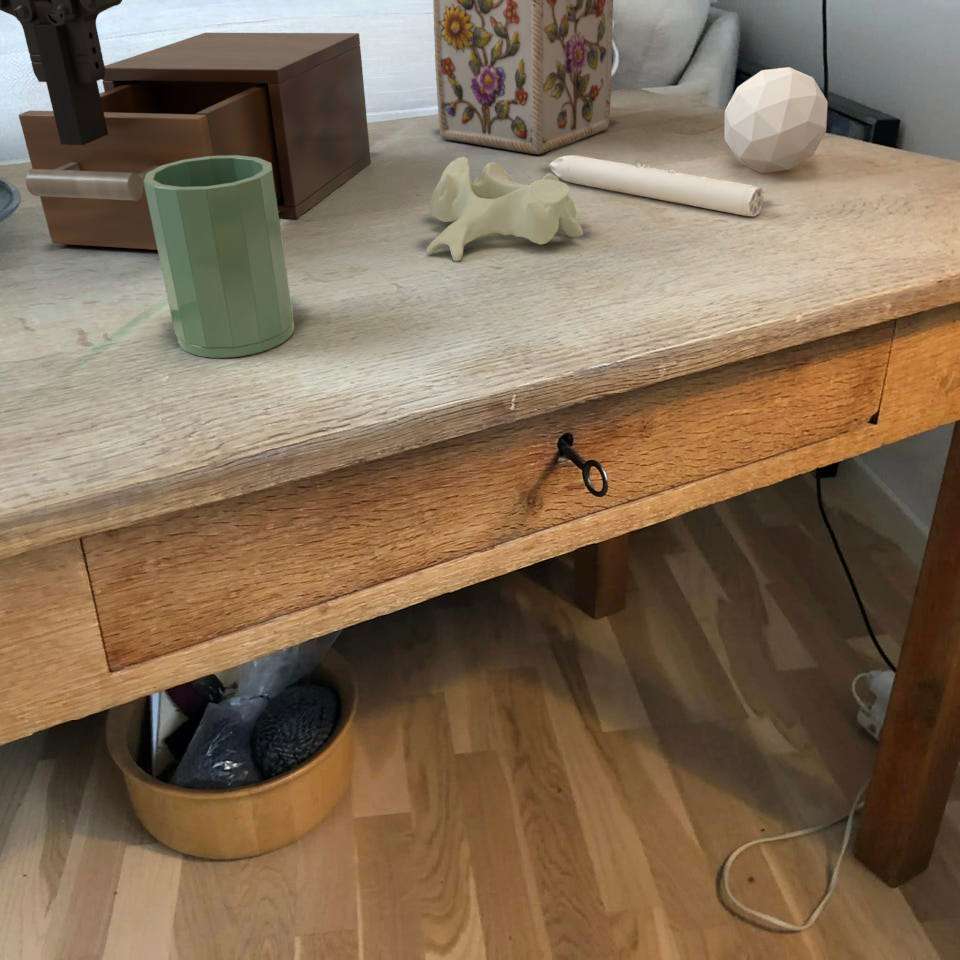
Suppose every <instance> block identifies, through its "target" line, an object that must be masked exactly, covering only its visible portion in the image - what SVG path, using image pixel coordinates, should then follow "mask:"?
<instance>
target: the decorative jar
mask: <svg viewBox="0 0 960 960" xmlns="http://www.w3.org/2000/svg"><path fill="white" fill-rule="evenodd" d="M432 2H433V3H432V4H433V7H432V8H433V34H434V36H433V37H434V62H435V81H436V99H437V110H438V113H437V114H438V124H439V125H438V126H439V136H440V138H441V139H442V140H443V139H444V140H447V141H454V142H459V143H466V144H472V145H476V146H477V145H478V146H483V147H489V148H496V149H501V150H507V151H512V152H518V153H524V154H528V155H529V154H530V155H538V156H539V155H542V154H545V153H547V152H549V151H554V150H555V149H558V148H561V147H564V146H566V145H570V144H572V143H575V142H578V141H580V140H582V139H585V138H587V137H590V136H593V135H595V134H599V133H601V132H603V131H606V130H607V129H608V127H609V125H610V117H611V103H612V102H611V98H612V76H613V75H612V74H613V73H612V71H613V70H612V69H613V68H612V67H613V65H612V63H613V62H612V61H613V34H614V33H613V24H614V21H613V20H614V0H433V1H432Z"/></svg>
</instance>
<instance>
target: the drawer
mask: <svg viewBox="0 0 960 960" xmlns="http://www.w3.org/2000/svg"><path fill="white" fill-rule="evenodd" d="M268 84H269V83H220V82H159V81H132V82H130V83H127V84H124V85H121V86H119V87H116V88H113V89H111V90H108V91H103V92H99V93H100V98H101V103H102V107H103V112H104V117H105V121H106V126H107V131H108V135H106V136H103V137H101V138H99V139H96V140H94V141H92V142H89V143H87V144H85V145H64V144H61V142H60V138H59V134H58V129H57V125H56V121H55V117H54V113H53V110H27V111H24V112H22V113H19V114H18V119H19V123H20V126H21V130H22V134H23V138H24V141H25V146H26V149H27V153H28V157H29V161H30V164H31V165H30V166H31V169H30V170H28V171H27V173H26V176H25V185H26V188H27V191H28V192H29V194H30V195H32V196H34V197H39V198H40V203H41V206H42V210H43V213H44V217H45V221H46V225H47V229H48V232H49V236H50V241H51V243H52V244H53V245H55V244H57V245H70V246H71V245H73V246H86V247H88V246H90V247H106V248H119V249H120V248H122V249H138V250H139V249H140V250H154V251H155V250H157V251H158V249H157V244H156V239H155V235H154V230H153V225H152V220H151V215H150V211H149V206H148V201H147V196H146V191H145V186H144V182H143V181H144V178H145V175H146V173H148V172H150V171H152V170H154V169H156V168H157V167H159V166H162V165H165V164H169V163H173V162H177V161H181V160H185V159H192V158H200V157H207V156H230V155H239V156H248V157H257V158H260V159H263V160H265V161H268V162H270V163H271V164H272V169H273V176H274V183H275V191H276V198H277V200H278V199H279V198H281V197H282V196H283V191H282V184H281V176H280V169H279V162H278V154H277V147H276V140H275V132H274V125H273V118H272V110H271V103H270V96H269V88H268Z"/></svg>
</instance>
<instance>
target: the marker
mask: <svg viewBox="0 0 960 960" xmlns="http://www.w3.org/2000/svg"><path fill="white" fill-rule="evenodd" d="M548 165H549V168H550V170H551V171H552V172H553V175H555V176H556V177H557V178H558V179H561V180H563V181H564V182H568V183H571V184H575V185H581V186H587V187H590V188H591V187H592V188H597V189H602V190H608V191H613V192H617V193H623V194H629V195H632V196H633V195H634V196H638V197H645V198H650V199H654V200H660V201H665V202H671V203H676V204H681V205H687V206H692V207H696V208H701V209H702V208H703V209H708V210H713V211H718V212H722V213H729V214H734V215H740V216H744V217H756V216H757V215H758V214H759V213H760V211H761V209H762V206H763V203H764V197H765V196H764V195H763V194H764V190H763V188H762V187H760V186H756V185H754V184H752V185H751V184H748V183H741V182H735V181H729V180H723V179H717V178H713V177H707V176H700V175H694V174H689V173H683V172H682V173H681V172H676V170H675V169H670V170H669V168H668V167H666V168H665V169H661V168H657V167H656V168H655V167H651V165H650V164H642V165H641V163H640V162H639V163H637V164H636V163H635V165H634V164H629V163H625V162H618V161H612V160H605V159H600V158H594V157H588V156H583V155H576V154H575V155H574V154H572V155H571V154H570V155H563V156H560V157H557V158H554V160H552V161H551V162H550V163H549V164H548Z"/></svg>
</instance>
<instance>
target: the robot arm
mask: <svg viewBox="0 0 960 960" xmlns="http://www.w3.org/2000/svg"><path fill="white" fill-rule="evenodd" d="M122 2H123V0H0V11H1V12H4V13H6V14H9V15H11V16H13V17H14V18H16V19H17V21H18V22H19V23H20V25H21V27H22V30H23V34H24V38H25V43H26V47H27V50H28V55H29V59H30V62H31V67H32V72H33V74H34V75H35V78H36V79H37V81H38V82H39V83H46V87H47V91H48V95H49V100H50V104H51V109H52V111H53V113H54V117H55V121H56V125H57V129H58V134H59V138H60V142H61V144H64V145H85V144H87V143H89V142H92V141H94V140H96V139H99V138H101V137H103V136H106V135H108V131H107V126H106V121H105V117H104V112H103V107H102V103H101V98H100V93H101V92H100V89H99V85H98V81H101V80H102V79H104V75H105V66H106V65H105V61H104V59H103V58H104V57H103V52H102V47H101V42H100V37H99V33H98V27H97V18H98V16H99V15H100V14H101V13H103V12H105V11H106V10H109V9H111V8H113V7H116V6H119V5H120V4H121V3H122Z"/></svg>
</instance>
